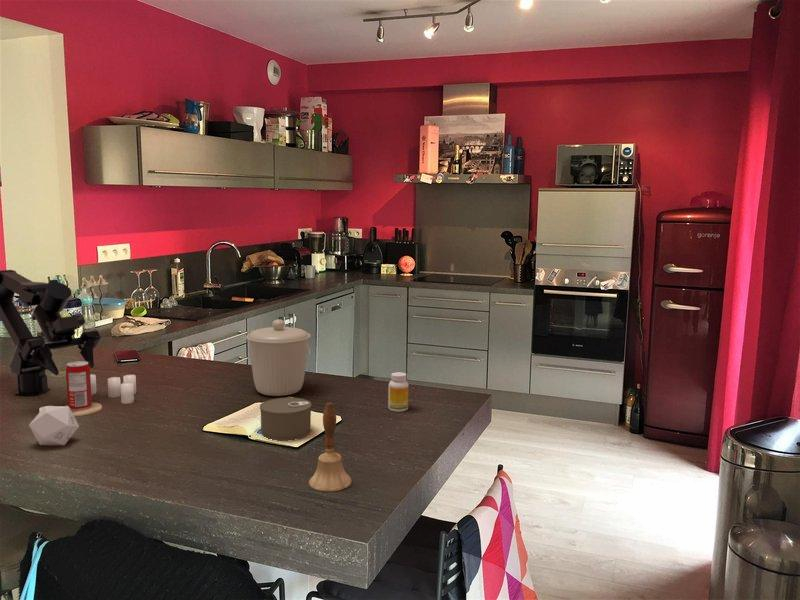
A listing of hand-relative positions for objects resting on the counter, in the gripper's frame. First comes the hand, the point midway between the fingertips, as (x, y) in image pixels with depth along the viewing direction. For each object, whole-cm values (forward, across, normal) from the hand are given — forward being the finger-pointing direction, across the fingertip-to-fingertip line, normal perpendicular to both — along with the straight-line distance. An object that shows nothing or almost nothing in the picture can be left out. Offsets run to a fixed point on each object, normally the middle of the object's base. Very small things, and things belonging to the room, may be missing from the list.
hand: (75, 370), depth 168 cm
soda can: (+8, 0, +6) cm, 10 cm away
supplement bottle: (+53, +52, -39) cm, 84 cm away
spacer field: (+9, +2, +5) cm, 11 cm away
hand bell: (+65, +6, -52) cm, 83 cm away
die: (+21, -16, -7) cm, 27 cm away
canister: (+27, +44, -13) cm, 53 cm away
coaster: (+8, 0, +6) cm, 10 cm away
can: (+46, +21, -32) cm, 60 cm away
